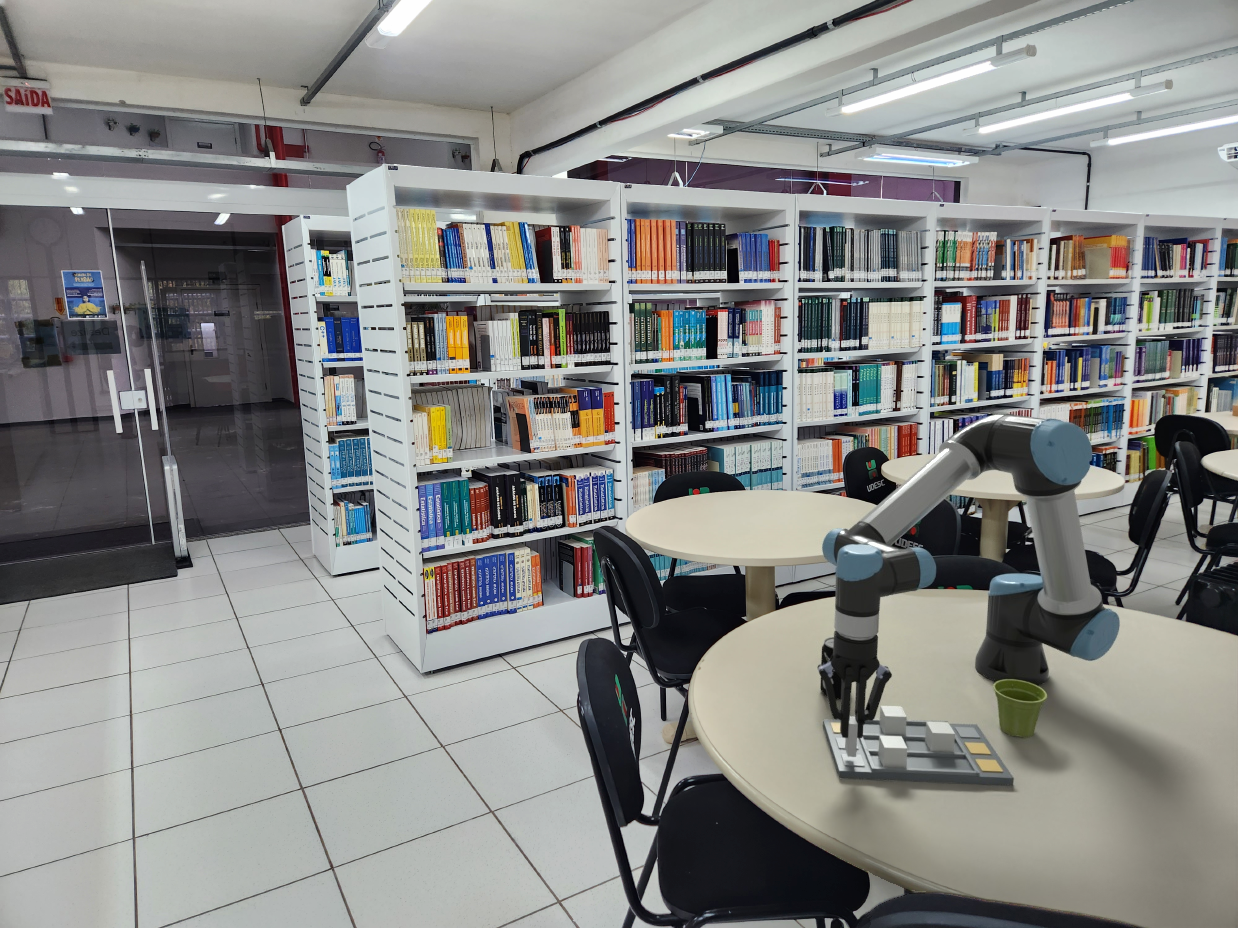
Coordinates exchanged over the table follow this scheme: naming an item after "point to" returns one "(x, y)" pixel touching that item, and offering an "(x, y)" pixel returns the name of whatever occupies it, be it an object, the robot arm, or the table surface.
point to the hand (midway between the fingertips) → (850, 752)
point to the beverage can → (836, 680)
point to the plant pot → (1018, 706)
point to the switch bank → (920, 756)
